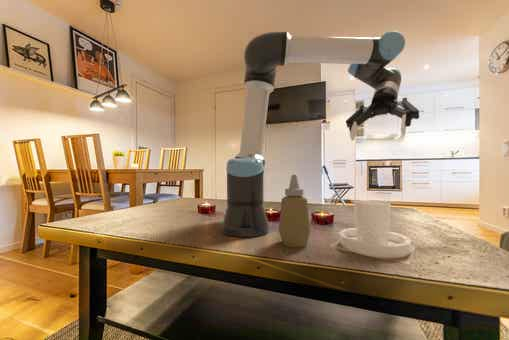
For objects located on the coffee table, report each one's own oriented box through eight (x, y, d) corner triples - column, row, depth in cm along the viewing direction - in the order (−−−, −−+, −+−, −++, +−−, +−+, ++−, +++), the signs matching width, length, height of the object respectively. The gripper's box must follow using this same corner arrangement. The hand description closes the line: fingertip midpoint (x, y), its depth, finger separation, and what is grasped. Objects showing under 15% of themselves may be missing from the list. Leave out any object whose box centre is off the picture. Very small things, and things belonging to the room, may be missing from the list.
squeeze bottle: (316, 244, 57) (315, 174, 57) (301, 253, 51) (300, 175, 51) (288, 238, 62) (288, 174, 63) (272, 245, 56) (272, 175, 56)
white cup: (396, 249, 50) (396, 205, 50) (359, 247, 51) (358, 204, 51) (383, 239, 57) (383, 200, 57) (351, 237, 59) (350, 199, 59)
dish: (330, 247, 53) (330, 237, 53) (350, 234, 65) (350, 225, 65) (406, 264, 43) (405, 251, 43) (413, 245, 55) (413, 234, 55)
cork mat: (329, 248, 54) (329, 246, 54) (348, 235, 64) (348, 234, 64) (409, 266, 43) (409, 264, 43) (415, 247, 54) (415, 246, 54)
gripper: (430, 98, 71) (429, 140, 60) (350, 112, 88) (336, 147, 76) (429, 77, 67) (428, 117, 56) (345, 95, 83) (330, 129, 72)
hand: (375, 134), depth 66 cm, fingers open, 13 cm apart
